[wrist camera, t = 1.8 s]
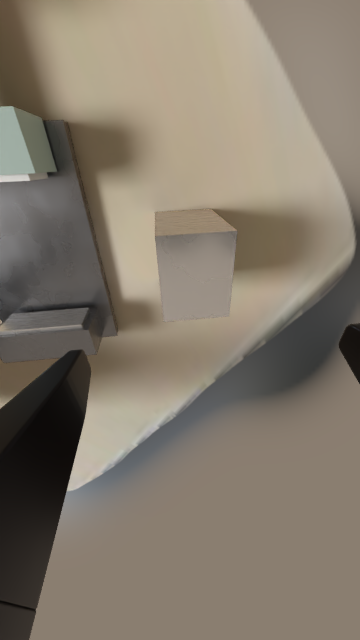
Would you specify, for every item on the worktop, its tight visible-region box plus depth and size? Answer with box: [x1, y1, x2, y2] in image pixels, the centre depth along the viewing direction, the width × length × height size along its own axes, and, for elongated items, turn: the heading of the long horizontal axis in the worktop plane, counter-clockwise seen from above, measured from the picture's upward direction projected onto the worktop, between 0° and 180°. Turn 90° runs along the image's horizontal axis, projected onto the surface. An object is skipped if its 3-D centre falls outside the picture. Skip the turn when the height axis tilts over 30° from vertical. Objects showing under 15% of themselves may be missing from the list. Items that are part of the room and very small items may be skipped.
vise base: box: [0, 120, 118, 363], centre depth 15 cm, size 15×9×4 cm, turn 2°
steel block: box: [155, 209, 237, 322], centre depth 15 cm, size 5×4×6 cm
